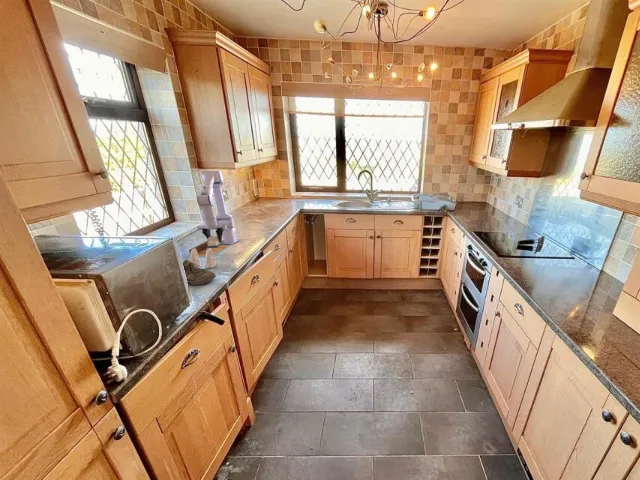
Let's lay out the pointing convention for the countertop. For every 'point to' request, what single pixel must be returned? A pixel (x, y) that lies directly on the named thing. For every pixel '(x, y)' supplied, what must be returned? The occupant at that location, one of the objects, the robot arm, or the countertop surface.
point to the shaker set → (209, 258)
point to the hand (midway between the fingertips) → (215, 242)
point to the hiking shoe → (197, 274)
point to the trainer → (214, 241)
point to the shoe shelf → (203, 248)
